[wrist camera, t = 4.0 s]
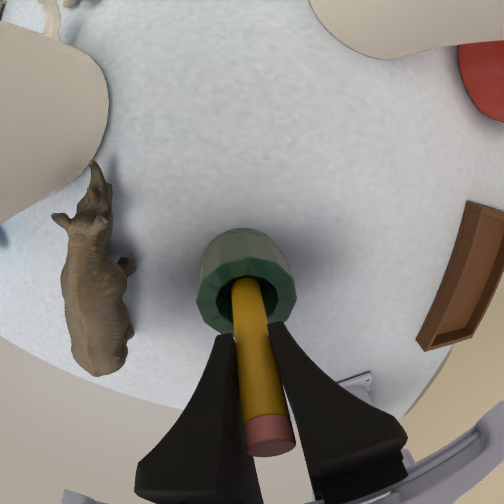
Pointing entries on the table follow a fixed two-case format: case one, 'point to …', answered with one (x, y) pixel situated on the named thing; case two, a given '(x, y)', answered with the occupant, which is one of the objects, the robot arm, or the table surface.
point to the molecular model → (69, 3)
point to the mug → (45, 112)
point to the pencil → (259, 376)
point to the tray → (467, 279)
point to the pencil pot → (243, 266)
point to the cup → (410, 24)
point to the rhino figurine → (95, 282)
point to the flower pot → (484, 75)
